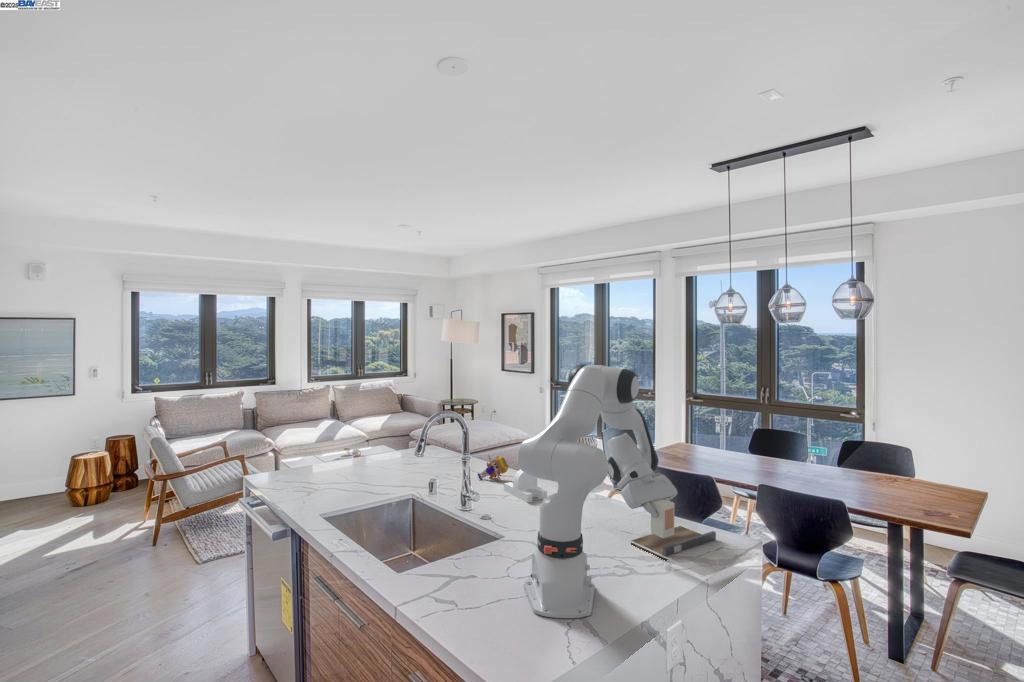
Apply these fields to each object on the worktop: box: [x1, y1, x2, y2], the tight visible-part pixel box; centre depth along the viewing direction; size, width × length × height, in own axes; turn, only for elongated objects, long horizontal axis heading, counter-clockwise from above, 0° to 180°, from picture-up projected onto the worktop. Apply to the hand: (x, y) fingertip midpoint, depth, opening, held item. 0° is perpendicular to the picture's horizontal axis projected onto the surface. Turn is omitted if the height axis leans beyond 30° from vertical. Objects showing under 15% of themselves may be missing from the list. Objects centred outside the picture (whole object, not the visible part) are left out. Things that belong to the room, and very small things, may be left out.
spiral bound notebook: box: [630, 525, 703, 562], centre depth 164 cm, size 14×24×2 cm, turn 123°
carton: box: [650, 499, 676, 538], centre depth 159 cm, size 5×5×10 cm
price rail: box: [662, 530, 717, 557], centre depth 158 cm, size 1×24×2 cm, turn 123°
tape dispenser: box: [503, 468, 548, 503], centre depth 213 cm, size 18×10×11 cm, turn 32°
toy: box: [477, 454, 509, 482], centre depth 237 cm, size 14×7×15 cm
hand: (663, 515), depth 159 cm, fingers closed on carton, 5 cm apart
